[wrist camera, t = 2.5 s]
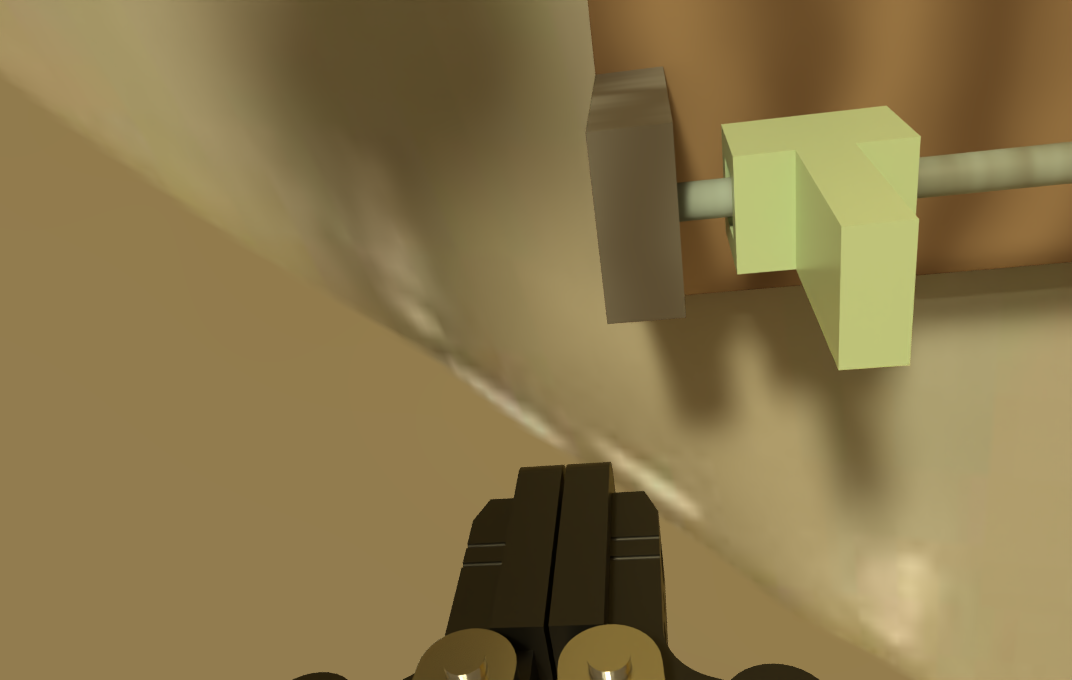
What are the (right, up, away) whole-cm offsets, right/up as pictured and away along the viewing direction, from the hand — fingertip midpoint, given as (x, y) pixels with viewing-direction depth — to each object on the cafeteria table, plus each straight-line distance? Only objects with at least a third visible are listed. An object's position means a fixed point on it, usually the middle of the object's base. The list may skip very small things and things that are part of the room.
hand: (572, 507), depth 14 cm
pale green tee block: (+8, +8, +14) cm, 18 cm away
